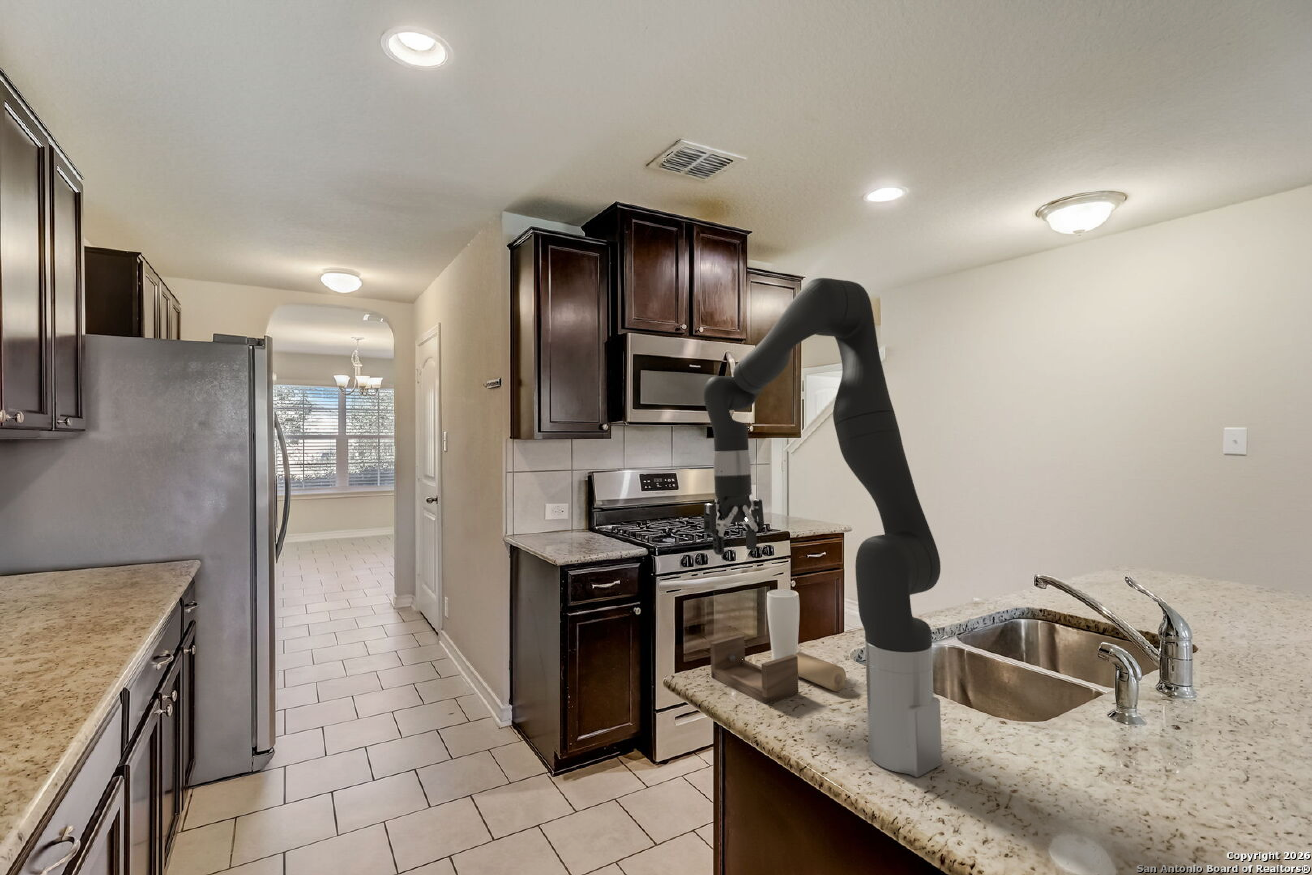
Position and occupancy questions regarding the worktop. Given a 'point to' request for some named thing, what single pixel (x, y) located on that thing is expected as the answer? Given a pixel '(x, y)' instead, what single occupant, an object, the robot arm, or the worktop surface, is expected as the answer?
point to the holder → (753, 671)
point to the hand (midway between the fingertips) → (735, 551)
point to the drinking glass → (783, 622)
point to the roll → (821, 672)
